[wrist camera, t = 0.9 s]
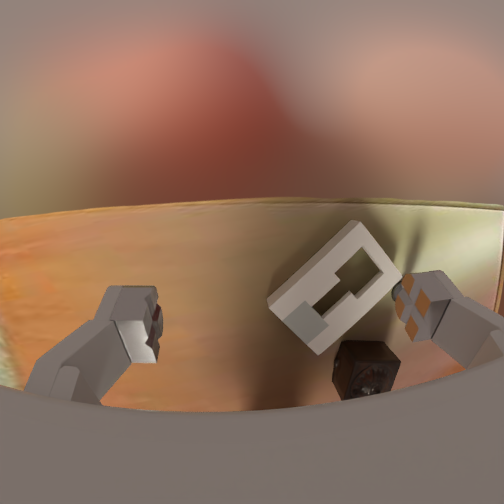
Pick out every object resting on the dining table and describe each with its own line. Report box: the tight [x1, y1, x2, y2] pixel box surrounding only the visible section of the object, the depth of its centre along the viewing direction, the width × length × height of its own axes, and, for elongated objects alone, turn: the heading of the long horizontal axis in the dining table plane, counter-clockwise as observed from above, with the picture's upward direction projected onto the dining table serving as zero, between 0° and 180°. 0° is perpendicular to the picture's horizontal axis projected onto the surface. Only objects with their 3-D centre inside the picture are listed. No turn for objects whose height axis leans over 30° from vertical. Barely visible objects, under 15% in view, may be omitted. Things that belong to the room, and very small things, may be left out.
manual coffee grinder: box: [332, 340, 401, 401], centre depth 53 cm, size 16×11×18 cm
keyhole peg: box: [392, 281, 403, 301], centre depth 54 cm, size 5×5×12 cm
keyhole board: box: [267, 220, 403, 355], centre depth 56 cm, size 14×22×5 cm, turn 134°
